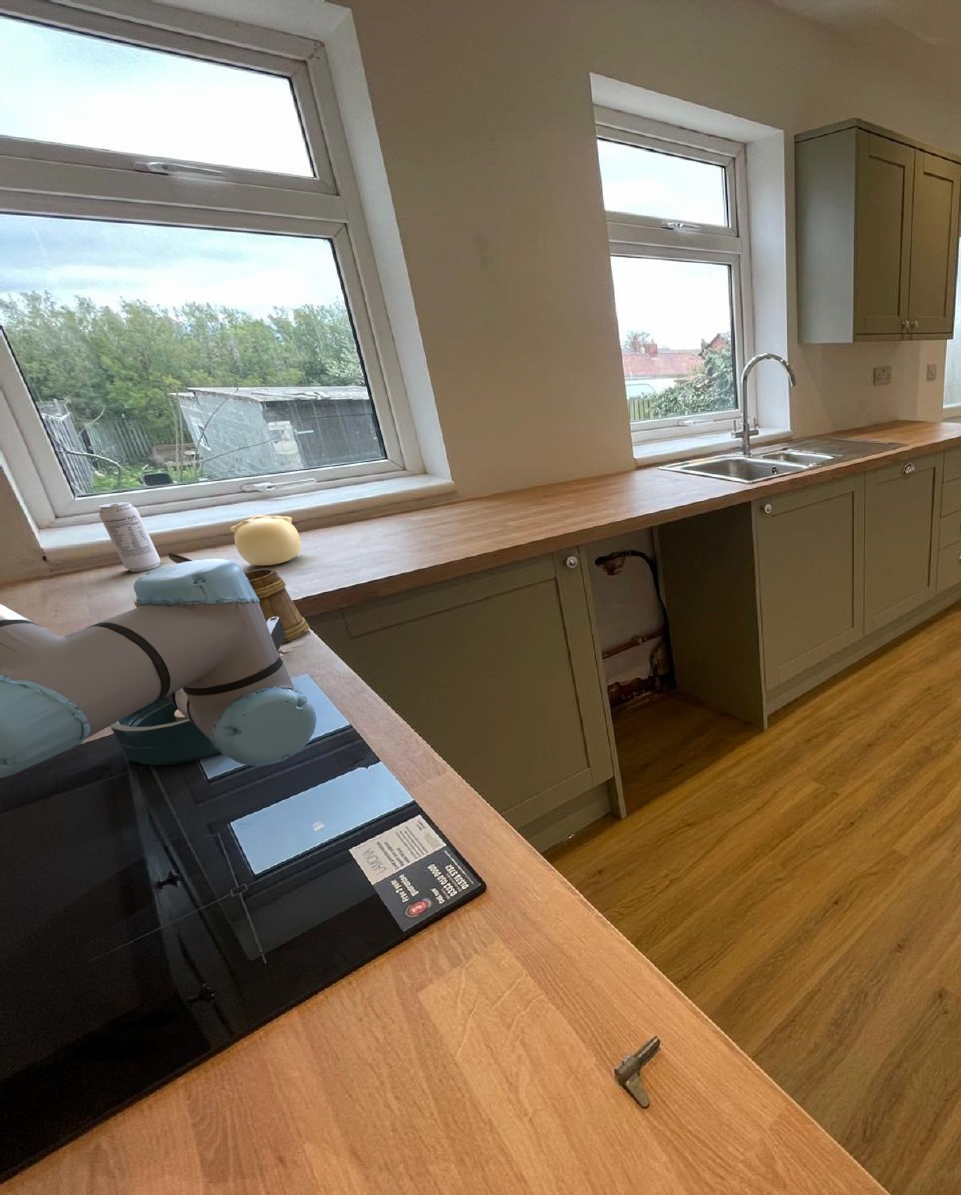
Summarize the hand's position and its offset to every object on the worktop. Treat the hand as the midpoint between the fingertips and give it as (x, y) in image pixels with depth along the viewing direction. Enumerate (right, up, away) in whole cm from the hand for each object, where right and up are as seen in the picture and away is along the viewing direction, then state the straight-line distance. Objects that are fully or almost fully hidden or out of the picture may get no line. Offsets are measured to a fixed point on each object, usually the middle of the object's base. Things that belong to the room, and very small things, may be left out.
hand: (163, 642), depth 81 cm
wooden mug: (-10, -2, +27) cm, 29 cm away
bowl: (+3, -12, +3) cm, 12 cm away
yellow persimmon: (-40, +14, +67) cm, 79 cm away
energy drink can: (-70, +12, +67) cm, 98 cm away
